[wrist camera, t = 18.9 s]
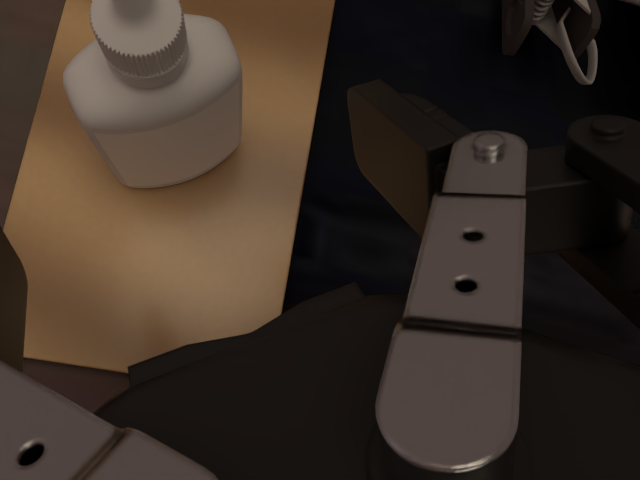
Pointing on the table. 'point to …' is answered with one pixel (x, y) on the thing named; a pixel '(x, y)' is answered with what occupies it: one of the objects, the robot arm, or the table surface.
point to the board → (168, 205)
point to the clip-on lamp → (556, 28)
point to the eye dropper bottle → (157, 91)
